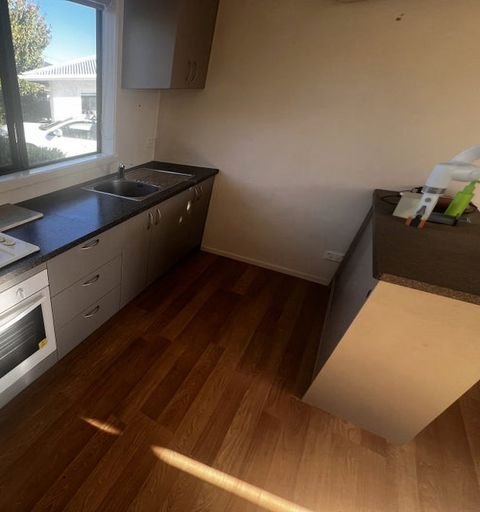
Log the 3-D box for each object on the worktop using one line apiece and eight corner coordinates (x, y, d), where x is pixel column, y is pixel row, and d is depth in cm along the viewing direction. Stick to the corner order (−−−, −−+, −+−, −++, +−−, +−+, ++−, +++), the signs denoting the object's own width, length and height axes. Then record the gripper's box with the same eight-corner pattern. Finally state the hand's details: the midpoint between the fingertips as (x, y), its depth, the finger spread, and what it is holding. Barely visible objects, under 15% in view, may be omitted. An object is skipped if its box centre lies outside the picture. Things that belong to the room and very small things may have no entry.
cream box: (427, 216, 159) (439, 196, 153) (425, 222, 151) (436, 202, 145) (396, 210, 167) (405, 191, 162) (391, 216, 159) (401, 196, 154)
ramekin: (412, 223, 150) (417, 215, 148) (425, 228, 144) (430, 219, 142) (400, 224, 150) (405, 215, 147) (413, 228, 144) (418, 220, 142)
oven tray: (468, 221, 149) (471, 215, 147) (467, 228, 141) (471, 222, 139) (423, 213, 160) (426, 207, 158) (420, 219, 152) (423, 213, 150)
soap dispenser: (450, 218, 156) (475, 181, 146) (440, 213, 161) (463, 178, 152) (463, 219, 154) (489, 182, 145) (453, 215, 160) (477, 179, 150)
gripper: (443, 195, 130) (422, 231, 139) (446, 188, 140) (426, 222, 149) (420, 192, 135) (401, 227, 144) (424, 185, 145) (406, 218, 154)
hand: (414, 224), depth 146 cm, fingers closed on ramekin, 6 cm apart
